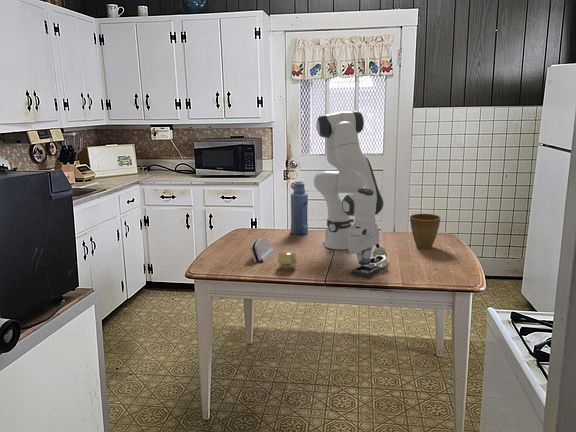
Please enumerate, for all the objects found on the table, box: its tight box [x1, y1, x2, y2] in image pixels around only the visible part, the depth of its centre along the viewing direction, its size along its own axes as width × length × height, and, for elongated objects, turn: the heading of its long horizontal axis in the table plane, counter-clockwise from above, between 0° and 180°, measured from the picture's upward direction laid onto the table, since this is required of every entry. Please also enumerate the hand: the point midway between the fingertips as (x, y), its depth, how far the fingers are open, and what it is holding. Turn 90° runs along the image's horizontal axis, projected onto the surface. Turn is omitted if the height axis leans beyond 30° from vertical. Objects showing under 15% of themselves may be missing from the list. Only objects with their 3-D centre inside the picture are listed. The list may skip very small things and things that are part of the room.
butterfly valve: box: [367, 243, 388, 271], centre depth 220 cm, size 9×20×17 cm
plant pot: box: [409, 213, 441, 250], centre depth 247 cm, size 15×15×16 cm
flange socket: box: [349, 264, 380, 280], centre depth 212 cm, size 9×9×2 cm
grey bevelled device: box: [249, 237, 275, 263], centre depth 237 cm, size 17×5×10 cm, turn 163°
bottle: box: [290, 180, 309, 236], centre depth 275 cm, size 10×10×30 cm
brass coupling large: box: [277, 250, 297, 272], centre depth 220 cm, size 8×8×7 cm
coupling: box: [357, 249, 372, 266], centre depth 210 cm, size 6×6×6 cm
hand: (364, 258), depth 210 cm, fingers closed on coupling, 6 cm apart
